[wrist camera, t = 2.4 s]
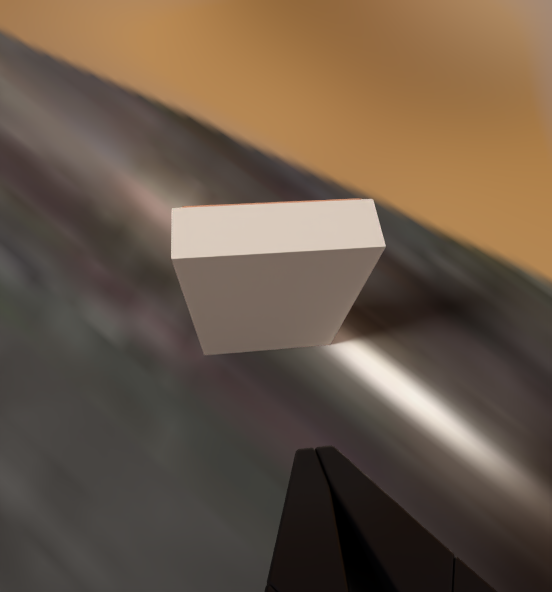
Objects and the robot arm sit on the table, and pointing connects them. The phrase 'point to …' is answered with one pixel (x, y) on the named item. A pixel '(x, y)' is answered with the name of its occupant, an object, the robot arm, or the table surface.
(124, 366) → the table surface
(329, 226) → the tile
